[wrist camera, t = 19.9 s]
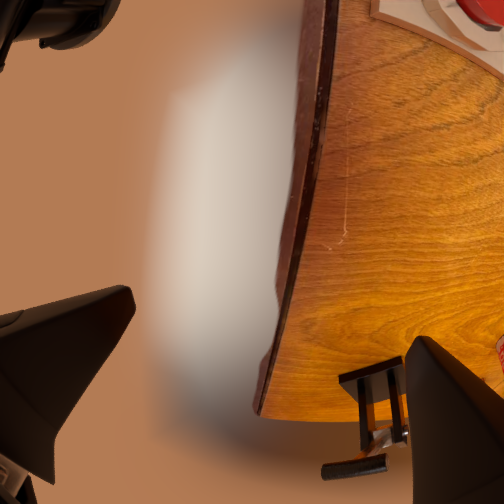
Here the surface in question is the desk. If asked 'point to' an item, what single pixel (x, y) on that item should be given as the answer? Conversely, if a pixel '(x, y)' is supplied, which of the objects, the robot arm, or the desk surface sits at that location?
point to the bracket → (378, 397)
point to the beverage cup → (501, 351)
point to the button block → (447, 29)
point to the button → (484, 11)
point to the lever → (363, 458)
